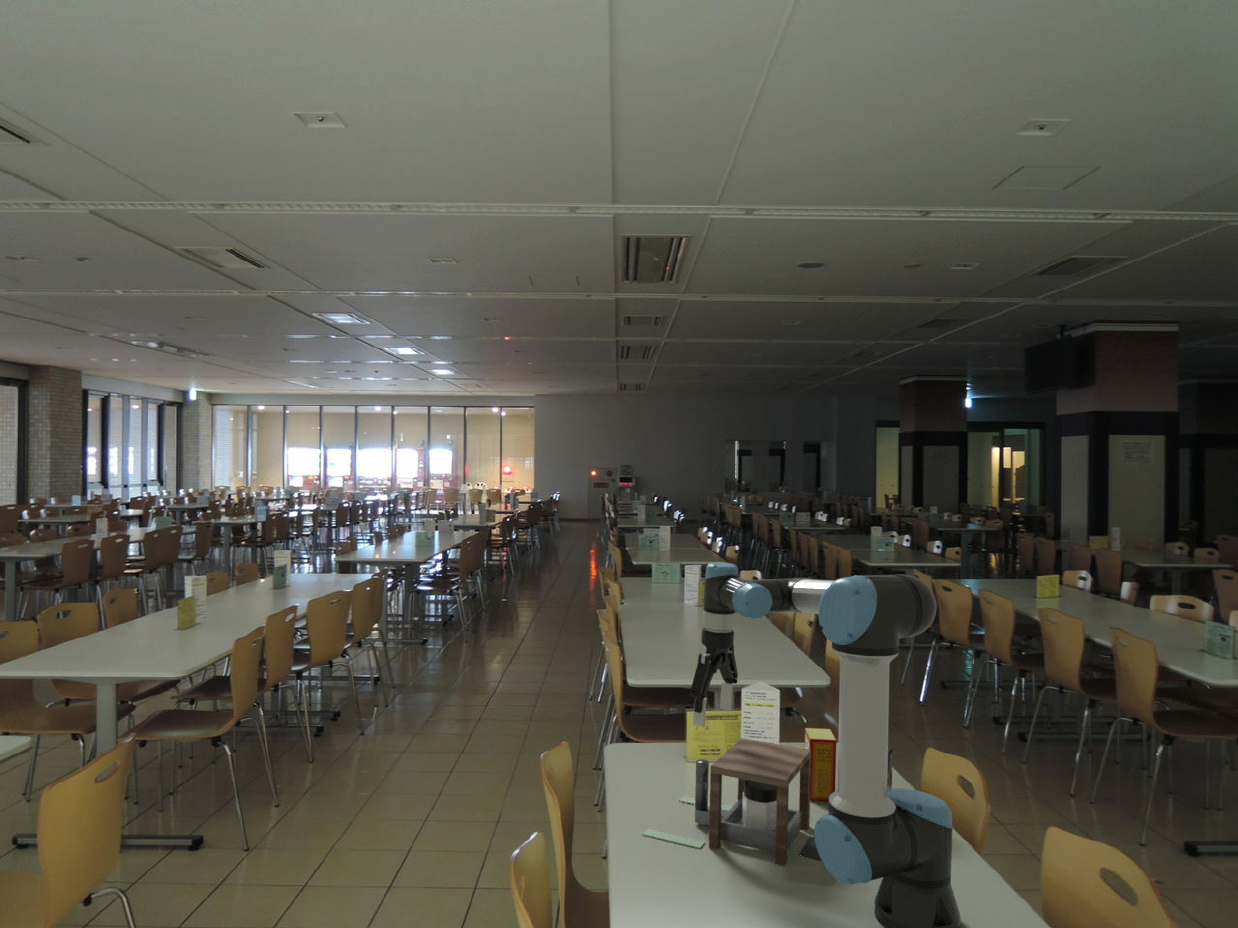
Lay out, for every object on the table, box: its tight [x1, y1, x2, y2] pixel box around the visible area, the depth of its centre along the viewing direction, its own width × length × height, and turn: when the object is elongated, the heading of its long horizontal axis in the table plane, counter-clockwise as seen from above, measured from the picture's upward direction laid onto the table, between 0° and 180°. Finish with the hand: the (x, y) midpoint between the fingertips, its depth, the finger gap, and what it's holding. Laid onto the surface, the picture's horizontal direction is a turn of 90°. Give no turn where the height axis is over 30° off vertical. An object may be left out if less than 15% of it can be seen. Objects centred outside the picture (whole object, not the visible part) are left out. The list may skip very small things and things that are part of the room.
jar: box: [741, 780, 777, 832], centre depth 188 cm, size 9×8×12 cm
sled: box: [694, 758, 803, 854], centre depth 190 cm, size 15×24×14 cm, turn 64°
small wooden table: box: [708, 737, 811, 866], centre depth 188 cm, size 22×17×18 cm
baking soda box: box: [804, 727, 837, 803], centre depth 214 cm, size 10×6×16 cm
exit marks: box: [641, 795, 733, 850], centre depth 196 cm, size 25×14×1 cm, turn 154°
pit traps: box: [798, 836, 823, 862], centre depth 181 cm, size 10×14×1 cm
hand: (712, 717), depth 195 cm, fingers open, 13 cm apart
